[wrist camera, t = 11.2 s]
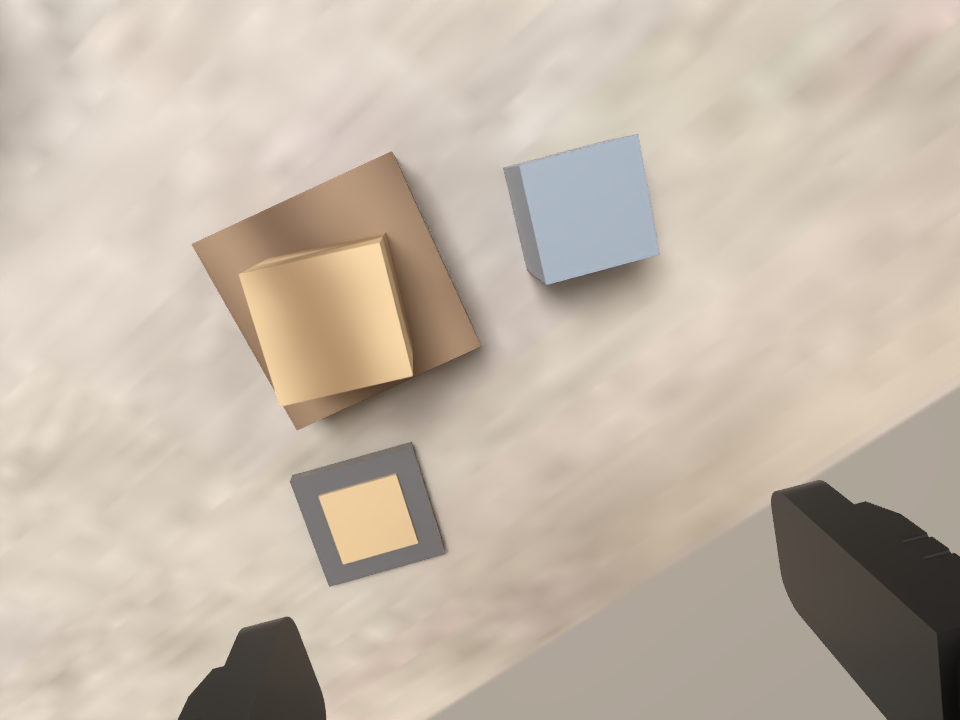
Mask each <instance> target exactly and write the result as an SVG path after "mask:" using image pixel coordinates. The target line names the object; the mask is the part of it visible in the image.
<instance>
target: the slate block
mask: <svg viewBox="0 0 960 720" xmlns="http://www.w3.org/2000/svg"><path fill="white" fill-rule="evenodd" d="M503 169H504V174H505V178H506V182H507V186H508V191H509V195H510V199H511V204H512V208H513V212H514V216H515V221H516V225H517V229H518V233H519V238H520V242H521V246H522V250H523V255H524V259H525V263H526V268H527V270H528V271H529V272H530V273H532V274H533V275H534V276H535V277H537V278H538V279H539V280H540V281H542V282H543V283H544V284H546V285H548V284H552V283H556V282H560V281H563V280H567V279H571V278H574V277H578V276H582V275H585V274H589V273H593V272H597V271H600V270H604V269H608V268H611V267H615V266H619V265H623V264H626V263H630V262H634V261H637V260H641V259H645V258H648V257H652V256H656V255H660V254H659V249H658V243H657V237H656V232H655V226H654V220H653V215H652V209H651V203H650V198H649V192H648V186H647V181H646V175H645V169H644V164H643V158H642V152H641V147H640V141H639V135H638V134H637V135H632V136H627V137H622V138H617V139H612V140H607V141H603V142H599V143H595V144H591V145H587V146H584V147H580V148H576V149H572V150H569V151H565V152H561V153H557V154H553V155H550V156H546V157H542V158H538V159H535V160H531V161H527V162H523V163H519V164H516V165H512V166H508V167H504V168H503Z"/></svg>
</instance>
